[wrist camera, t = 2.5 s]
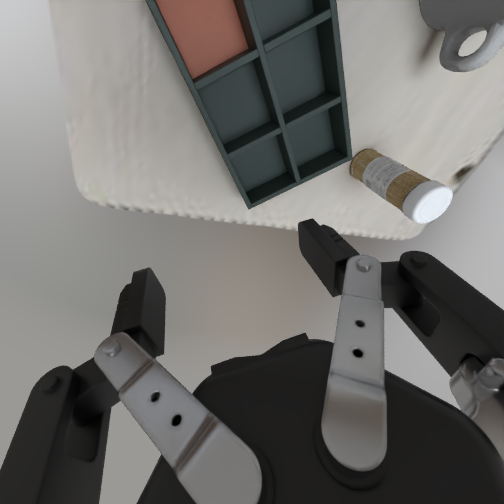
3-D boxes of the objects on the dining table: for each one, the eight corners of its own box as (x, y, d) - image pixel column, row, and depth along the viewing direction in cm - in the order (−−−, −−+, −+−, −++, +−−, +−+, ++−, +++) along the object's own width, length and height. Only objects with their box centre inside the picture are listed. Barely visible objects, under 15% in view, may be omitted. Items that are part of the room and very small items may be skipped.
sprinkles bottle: (378, 169, 37) (451, 213, 27) (350, 183, 38) (413, 231, 28) (376, 141, 34) (458, 179, 24) (346, 157, 35) (414, 200, 25)
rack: (299, -105, 19) (322, -136, 16) (336, 148, 33) (352, 158, 30) (141, -10, 20) (134, -22, 17) (242, 195, 35) (248, 209, 32)
